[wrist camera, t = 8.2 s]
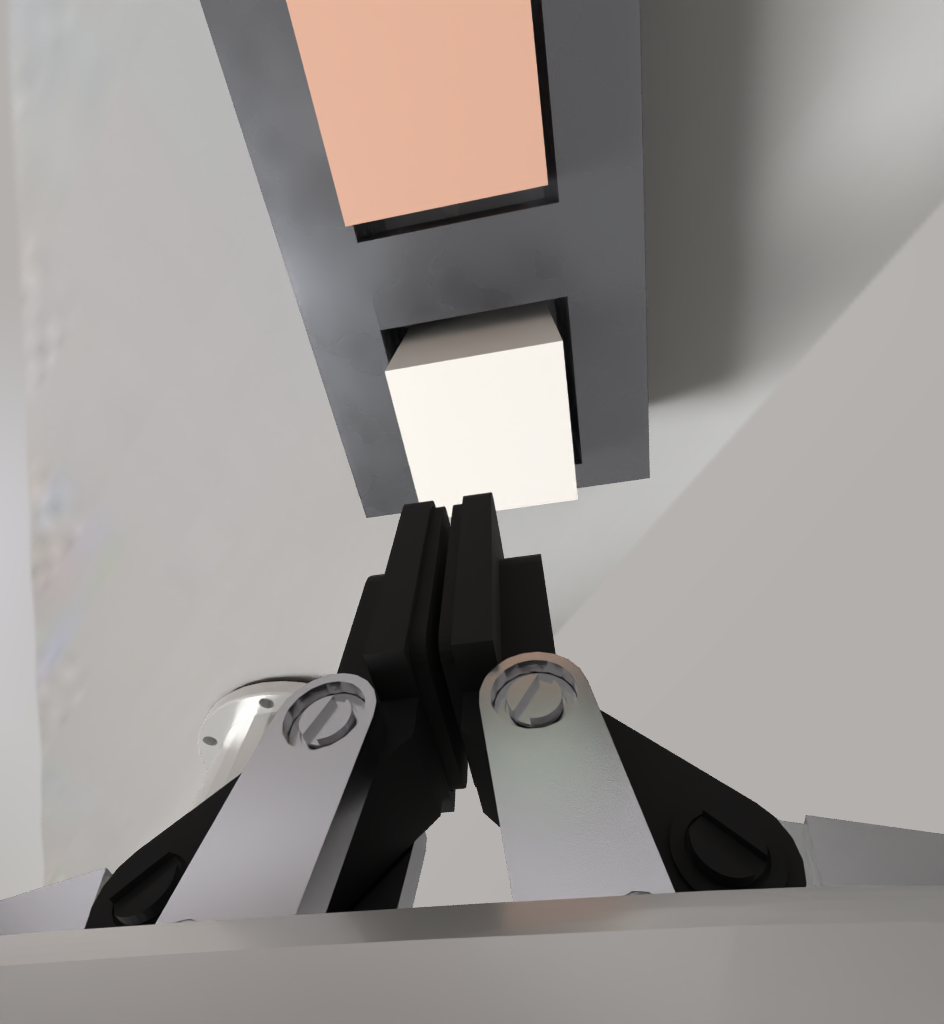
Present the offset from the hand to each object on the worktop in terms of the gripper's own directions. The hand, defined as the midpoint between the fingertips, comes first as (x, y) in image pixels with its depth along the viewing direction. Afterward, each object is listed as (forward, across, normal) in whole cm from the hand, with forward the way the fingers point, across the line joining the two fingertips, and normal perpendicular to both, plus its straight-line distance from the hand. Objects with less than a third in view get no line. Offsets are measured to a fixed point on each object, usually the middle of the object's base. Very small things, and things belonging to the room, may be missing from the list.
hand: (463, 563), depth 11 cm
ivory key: (+11, -1, 0) cm, 11 cm away
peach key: (+11, 0, -8) cm, 14 cm away
